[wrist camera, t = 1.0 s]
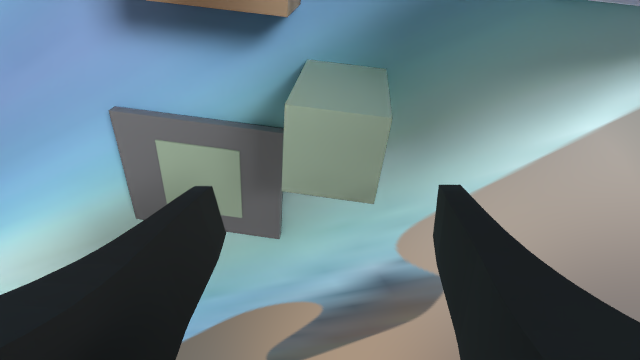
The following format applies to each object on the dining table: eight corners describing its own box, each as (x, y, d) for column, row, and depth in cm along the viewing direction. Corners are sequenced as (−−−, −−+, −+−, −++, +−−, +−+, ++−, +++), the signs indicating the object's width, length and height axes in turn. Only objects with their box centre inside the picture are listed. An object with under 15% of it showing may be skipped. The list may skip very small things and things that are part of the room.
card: (284, 128, 21) (282, 134, 20) (281, 233, 25) (279, 240, 25) (114, 106, 21) (107, 111, 21) (140, 213, 26) (135, 219, 25)
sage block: (386, 68, 18) (392, 118, 13) (372, 139, 21) (373, 204, 16) (307, 59, 19) (284, 104, 14) (302, 130, 21) (281, 191, 16)
